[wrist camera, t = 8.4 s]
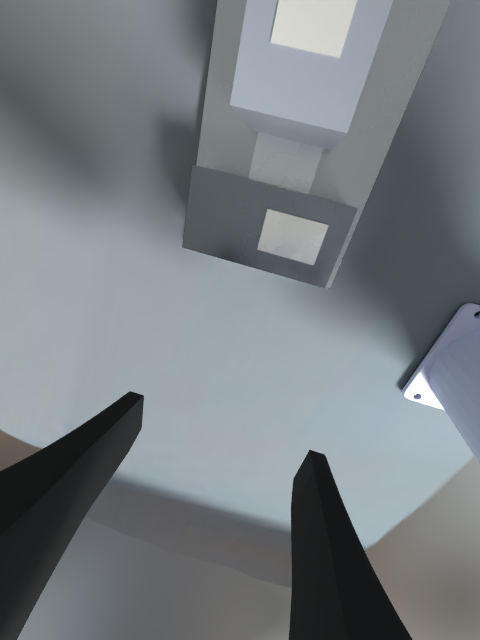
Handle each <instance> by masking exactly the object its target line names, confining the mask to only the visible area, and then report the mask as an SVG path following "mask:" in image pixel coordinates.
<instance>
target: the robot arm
mask: <svg viewBox="0 0 480 640" xmlns="http://www.w3.org/2000/svg"><path fill="white" fill-rule="evenodd" d="M478 311H480V305H477V304H473V303H467V304H464V305H462V306H461V307H460V308H459V310H458V311H457V313H456V314H455V316H454V317H453V318H452V320H451V321H450V323H449V324H448V325H447V327H446V328H445V330H444V331H443V333H442V334H441V335H440V337H439V338H438V340H437V341H436V343H435V344H434V345H433V347H432V348H431V350H430V351H429V352H428V354H427V355H426V357H425V358H424V360H423V361H422V362H421V364H420V365H419V367H418V368H417V370H416V371H415V372H414V374H413V375H412V377H411V378H410V379H409V381H408V382H407V384H406V385H405V387H404V388H403V390H402V394H403V396H404V397H405V398H407V399H409V400H413V401H416V402H419V403H423V404H426V405H429V406H432V407H436V408H439V409H442V410H445V411H446V413H447V415H448V416H449V418H450V419H451V421H452V422H453V424H454V425H455V427H456V428H457V430H458V431H459V433H460V434H461V436H462V437H463V439H464V440H465V442H466V443H467V445H468V446H469V448H470V449H471V451H472V452H473V454H474V456H475V457H476V459H477V460H478V461H479V463H480V314H479V315H477V316H474V314H475V313H476V312H478ZM415 394H418V395H416V396H414V395H415ZM143 401H144V396H143V395H140V394H137V393H134V392H131V391H130V392H128V393H127V394H125V395H124V396H123V397H121V398H120V399H119V400H117V401H116V402H114V403H113V404H112V405H110V406H109V407H107V408H106V409H105V410H103V411H102V412H100V413H99V414H97V415H96V416H95V417H93V418H92V419H90V420H89V421H87V422H86V423H84V424H83V425H81V426H80V427H78V428H76V429H75V430H73V431H72V432H70V433H68V434H67V435H65V436H64V437H62V438H60V439H59V440H57V441H55V442H54V443H52V444H50V445H49V446H47V447H45V448H43V449H42V450H40V451H38V452H36V453H35V454H33V455H31V456H29V457H27V458H25V459H23V460H22V461H20V462H18V463H16V464H14V465H12V466H10V467H8V468H6V469H4V470H2V471H0V640H17V638H18V636H19V634H20V633H21V631H22V628H23V627H24V625H25V623H26V621H27V619H28V617H29V615H30V613H31V612H32V610H33V608H34V606H35V604H36V602H37V600H38V599H39V597H40V595H41V593H42V591H43V589H44V587H45V586H46V583H47V582H48V580H49V578H50V576H51V575H52V573H53V571H54V569H55V567H56V566H57V564H58V562H59V560H60V558H61V557H62V555H63V553H64V551H65V550H66V548H67V546H68V544H69V542H70V541H71V539H72V537H73V536H74V534H75V532H76V531H77V529H78V527H79V525H80V524H81V522H82V520H83V518H84V517H85V515H86V514H87V512H88V511H89V509H90V507H91V506H92V504H93V503H94V501H95V500H96V499H97V497H98V496H99V494H100V493H101V491H102V490H103V488H104V487H105V485H106V484H107V483H108V481H109V480H110V478H111V477H112V475H113V474H114V472H115V471H116V470H117V468H118V467H119V465H120V464H121V462H122V461H123V459H124V458H125V456H126V455H127V453H128V452H129V450H130V448H131V447H132V445H133V443H134V441H135V439H136V437H137V436H138V434H139V432H140V430H141V428H142V415H143ZM291 540H292V599H291V615H290V631H289V640H412V638H411V636H410V635H409V633H408V631H407V630H406V628H405V626H404V625H403V623H402V621H401V620H400V618H399V616H398V614H397V613H396V611H395V609H394V607H393V605H392V603H391V602H390V600H389V598H388V596H387V594H386V593H385V591H384V589H383V587H382V585H381V583H380V581H379V579H378V577H377V576H376V574H375V572H374V570H373V568H372V566H371V564H370V562H369V560H368V558H367V555H366V553H365V551H364V549H363V547H362V545H361V543H360V541H359V538H358V536H357V534H356V532H355V529H354V527H353V525H352V523H351V520H350V518H349V516H348V513H347V511H346V508H345V506H344V504H343V501H342V499H341V496H340V494H339V491H338V488H337V486H336V483H335V481H334V478H333V475H332V473H331V470H330V467H329V464H328V461H327V459H326V456H325V455H324V454H321V453H318V452H315V451H312V450H309V452H308V454H307V456H306V458H305V459H304V461H303V463H302V465H301V466H300V468H299V470H298V472H297V474H296V475H295V477H294V480H293V490H292V502H291Z"/></svg>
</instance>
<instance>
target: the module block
mask: <svg viewBox="0 0 480 640" xmlns="http://www.w3.org/2000/svg"><path fill="white" fill-rule="evenodd" d="M392 3H393V0H247V3H246V9H245V15H244V22H243V28H242V34H241V40H240V46H239V52H238V58H237V64H236V70H235V76H234V83H233V89H232V95H231V101H230V106H231V107H232V108H233V109H234V111H235V112H236V113H237V114H238V115H239V117H240V118H241V119H242V120H243V122H244V123H245V124H246V125H247V126H248V128H249V129H250V130H253V131H257V132H261V133H265V134H269V135H273V136H277V137H281V138H285V139H289V140H293V141H297V142H301V143H305V144H309V145H313V146H317V147H321V148H326V149H330V150H332V149H333V148H334V147H335V146H336V145H337V144H338V143H339V142H340V141H341V140H342V138H343V137H344V136H345V135H346V134H347V132H348V130H349V127H350V124H351V121H352V118H353V115H354V112H355V109H356V107H357V104H358V101H359V98H360V95H361V92H362V89H363V86H364V84H365V81H366V78H367V75H368V72H369V69H370V66H371V63H372V61H373V58H374V55H375V52H376V49H377V46H378V43H379V40H380V38H381V35H382V32H383V29H384V26H385V23H386V20H387V17H388V14H389V12H390V9H391V6H392Z"/></svg>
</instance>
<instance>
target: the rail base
mask: <svg viewBox="0 0 480 640" xmlns="http://www.w3.org/2000/svg"><path fill="white" fill-rule="evenodd" d="M451 1H452V0H393V3H392V6H391V9H390V12H389V14H388V17H387V20H386V23H385V26H384V29H383V32H382V35H381V38H380V40H379V43H378V46H377V49H376V52H375V55H374V58H373V61H372V63H371V66H370V69H369V72H368V75H367V78H366V81H365V84H364V86H363V89H362V92H361V95H360V98H359V101H358V104H357V107H356V109H355V112H354V115H353V118H352V121H351V124H350V127H349V130H348V132H347V134H346V135H345V136H344V137H343V138H342V140H341V141H340V142H339V143H338V144H337V145H336V146H335V147H334V148H333V149H332V150H330V149H326V148H321V147H317V146H313V145H309V144H305V143H301V142H297V141H293V140H289V139H285V138H281V137H277V136H273V135H269V134H265V133H261V132H257V131H253V130H250V129H249V128H248V126H247V125H246V124H245V123H244V122H243V120H242V119H241V118H240V117H239V115H238V114H237V113H236V112H235V111H234V109H233V108H232V107H231V106H230V101H231V95H232V89H233V83H234V76H235V70H236V64H237V58H238V52H239V46H240V40H241V34H242V28H243V22H244V15H245V9H246V3H247V0H218V1H217V9H216V17H215V24H214V32H213V40H212V48H211V55H210V63H209V71H208V79H207V86H206V94H205V102H204V110H203V117H202V125H201V133H200V140H199V148H198V156H197V164H196V165H192V172H191V180H190V188H189V196H188V204H187V213H186V221H185V229H184V237H183V245H182V247H183V248H186V249H190V250H193V251H197V252H200V253H204V254H207V255H211V256H214V257H218V258H221V259H225V260H228V261H232V262H235V263H239V264H242V265H246V266H249V267H253V268H256V269H260V270H263V271H267V272H270V273H274V274H277V275H281V276H284V277H288V278H291V279H295V280H298V281H302V282H305V283H309V284H312V285H316V286H319V287H323V288H328V289H330V287H331V285H332V283H333V280H334V278H335V275H336V273H337V271H338V268H339V266H340V264H341V261H342V259H343V257H344V254H345V252H346V249H347V247H348V245H349V242H350V240H351V238H352V235H353V233H354V230H355V228H356V226H357V223H358V221H359V219H360V216H361V214H362V212H363V209H364V207H365V204H366V202H367V200H368V197H369V195H370V193H371V190H372V188H373V185H374V183H375V181H376V178H377V176H378V174H379V171H380V169H381V167H382V164H383V162H384V159H385V157H386V155H387V152H388V150H389V148H390V145H391V143H392V140H393V138H394V136H395V133H396V131H397V129H398V126H399V124H400V122H401V119H402V117H403V114H404V112H405V110H406V107H407V105H408V103H409V100H410V98H411V95H412V93H413V91H414V88H415V86H416V84H417V81H418V79H419V77H420V74H421V72H422V69H423V67H424V65H425V62H426V60H427V58H428V55H429V53H430V50H431V48H432V46H433V43H434V41H435V39H436V36H437V34H438V32H439V29H440V27H441V24H442V22H443V20H444V17H445V15H446V13H447V10H448V8H449V6H450V3H451Z"/></svg>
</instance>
